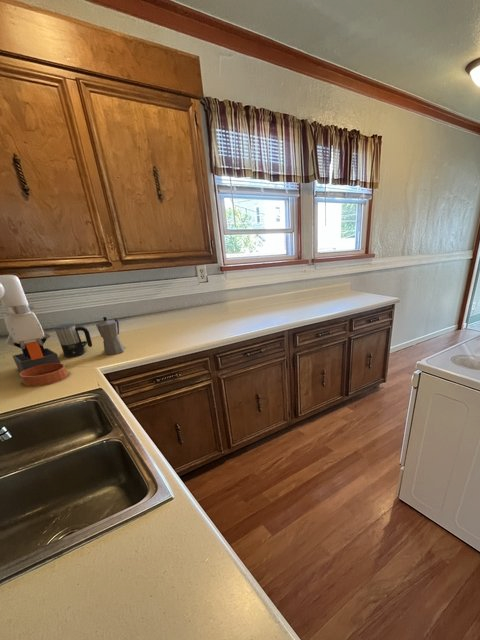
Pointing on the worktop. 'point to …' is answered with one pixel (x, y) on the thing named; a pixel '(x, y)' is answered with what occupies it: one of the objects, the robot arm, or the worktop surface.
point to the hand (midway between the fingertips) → (35, 356)
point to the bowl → (44, 374)
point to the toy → (34, 350)
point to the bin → (35, 360)
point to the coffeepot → (110, 336)
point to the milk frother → (72, 339)
